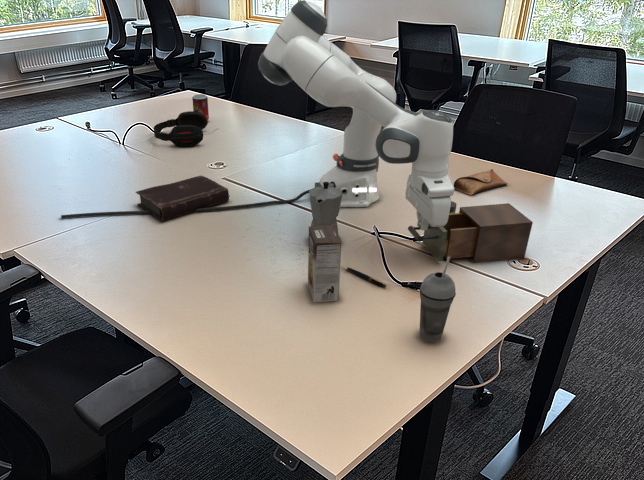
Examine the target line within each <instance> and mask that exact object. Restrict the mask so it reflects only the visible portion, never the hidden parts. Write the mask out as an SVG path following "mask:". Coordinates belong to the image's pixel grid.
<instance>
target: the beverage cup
mask: <svg viewBox="0 0 644 480" xmlns="http://www.w3.org/2000/svg"><path fill="white" fill-rule="evenodd" d="M450 260H451V259H450V256H448V258H447V259H446V261H445V265H444V268H443V271H442V272H441V271H435V272H432V273H429V274H428V275H427V276H426V277H424V279H423V280H422V282H421V285H420V288H419V298H420V309H419V311H420V312H419V338H420V339H421V340H422V341H424V342H425V343H432V344H433V343H438V342H440V341H441V339H442V336H443V334H444V330H445V327H446V322H447V320H448V317H449V313H450V309H451V305H452V304H453V301H454V299H455V297H456V295H457V292H456V284H455V282H454V280H453V278H452V277H451V276H450V275H448V274H447V269H448V267H449V264H450Z"/></svg>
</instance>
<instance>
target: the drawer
mask: <svg viewBox="0 0 644 480" xmlns="http://www.w3.org/2000/svg"><path fill="white" fill-rule="evenodd" d="M407 230H408V232H409V233H410V234H411V236H413V238H414V239H415V240H416V242H418V243H420V242H422V245H424V246H425V247H426V249H427V250H428V252H429V253H430V254H431V255H432V256H433V258H435V260H436V261H437V262H438V263H442V262H444V258H445V259H446V260H447V258H448V256H450V260H451V259H461V258H469V257H473V256H474V251H475V245H476V240H477V235H478V230H479V228H478V227H477V226H476V225H475V224H474V223H473V222H472V221H471V220H470V219H469V218H468V217H467V216H466V215H465V214H464V213H459V212H455V213H453V214H449V217H448V221H447V223H446V225H445V226H441V227H432V226H431V225H430V224H428V229H427V230H423V236H421V234H420V233H419V232H417V231H419V230H421V229H420V228H419V226H413V225H409V226H408V227H407Z"/></svg>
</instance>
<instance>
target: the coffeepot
mask: <svg viewBox="0 0 644 480" xmlns="http://www.w3.org/2000/svg"><path fill="white" fill-rule="evenodd" d="M323 186H324V187H316V188H315V187H313V188H314V189H312V188H311V189H312V190H310V189H308V190H309V193H308V194H309V202H310V210H311V215H312V220H311V222H310V226H332V225H334V226H335V228H336V230H337V233H338V235H339V234H340V233H339V226H338V225H339V224H338V219H337V217H338V216H339V213H340V209H341V207H340V204H341V199H342V195H343V194H342V192H341V190H340V189H337V188H336V185H335V182H333V181H332V182H330V183H329V182H323ZM339 236H340V235H339ZM308 241H309V237H308Z"/></svg>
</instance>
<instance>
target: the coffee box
mask: <svg viewBox="0 0 644 480" xmlns="http://www.w3.org/2000/svg"><path fill="white" fill-rule="evenodd" d="M338 233H339V232H338ZM338 233H337V230H336V228H335V226H334V225H332V226H311V225H310V226H308V238H309V240H308V246H307V247H308V248H307V249H308V250H307V256H308V257H307V259H308V260H307V286H308V288H309V289H308V290H309V292H310V295H311V299H312V302H313V303H325V302H326V303H327V302H329V303H330V302H338V301H339V296H340V295H339V294H340V280H341V279H340V278H341V266H342V265H341V264H342V263H341V262H342V248H343V245H342V244H343V240H342V239H341V236H340V235H338Z"/></svg>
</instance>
